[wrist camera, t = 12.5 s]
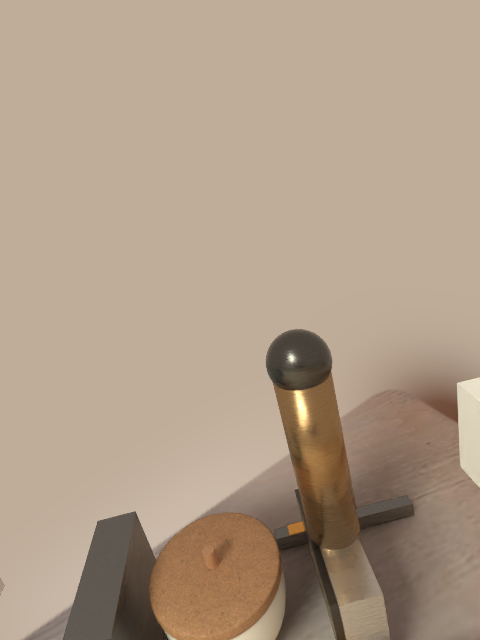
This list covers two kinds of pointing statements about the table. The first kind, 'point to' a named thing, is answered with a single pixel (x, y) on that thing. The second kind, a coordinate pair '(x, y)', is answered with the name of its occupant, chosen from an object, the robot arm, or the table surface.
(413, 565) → the table surface
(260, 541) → the lidded jar
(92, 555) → the bench
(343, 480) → the gold upright rod
